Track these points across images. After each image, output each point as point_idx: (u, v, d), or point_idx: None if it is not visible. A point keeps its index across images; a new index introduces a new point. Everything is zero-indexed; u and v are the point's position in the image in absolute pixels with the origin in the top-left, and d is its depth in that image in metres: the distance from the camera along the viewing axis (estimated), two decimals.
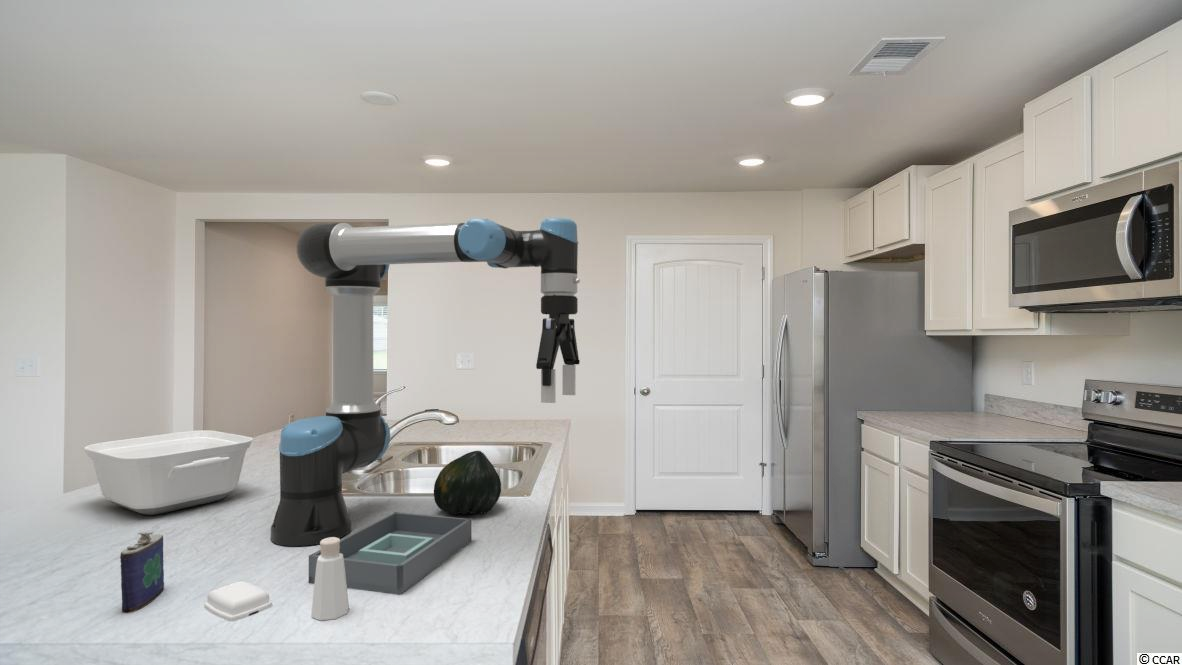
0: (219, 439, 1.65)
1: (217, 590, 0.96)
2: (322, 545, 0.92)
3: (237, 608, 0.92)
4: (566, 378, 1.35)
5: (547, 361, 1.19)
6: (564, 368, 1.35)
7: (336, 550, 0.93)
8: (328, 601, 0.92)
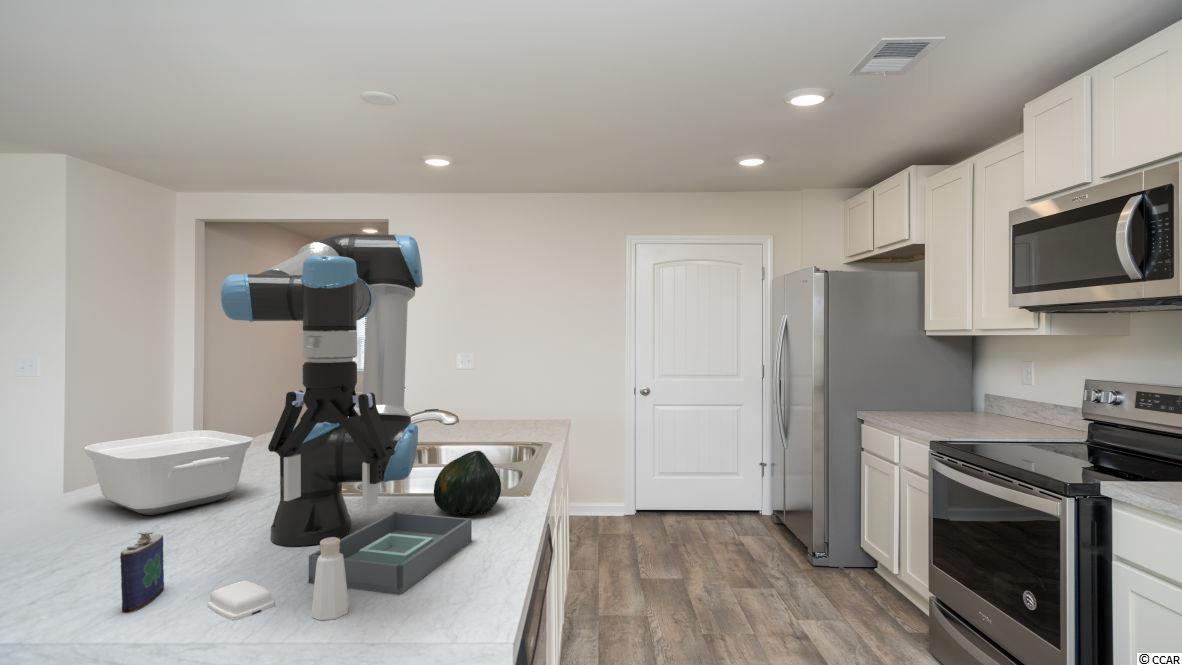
0: (219, 439, 1.65)
1: (220, 589, 0.96)
2: (322, 545, 0.92)
3: (240, 607, 0.92)
4: None
5: None
6: None
7: (336, 550, 0.93)
8: (328, 601, 0.92)
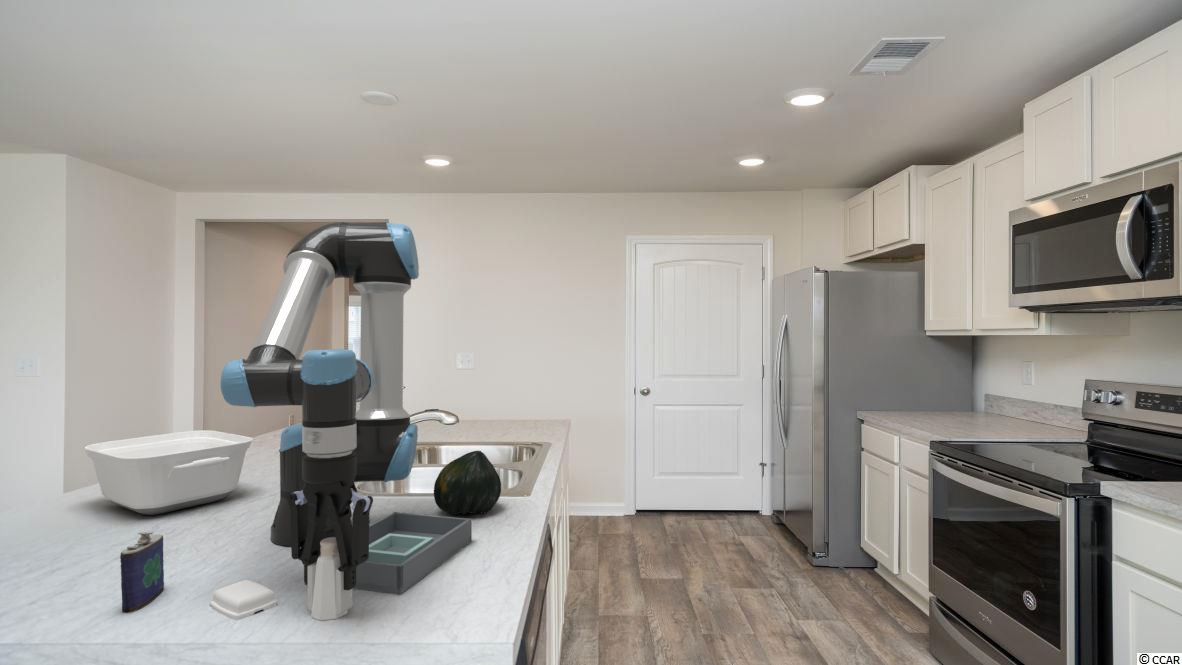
0: (219, 439, 1.65)
1: (222, 589, 0.96)
2: (322, 545, 0.92)
3: (242, 606, 0.92)
4: None
5: None
6: None
7: (336, 550, 0.93)
8: (328, 601, 0.92)
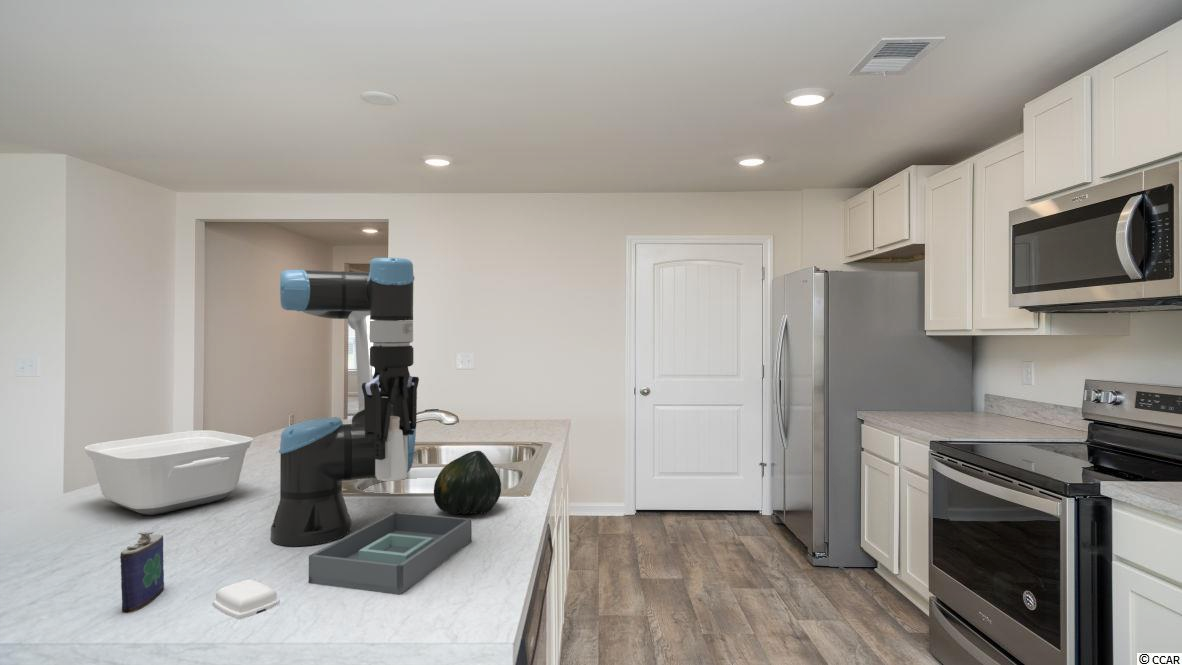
0: (219, 439, 1.65)
1: (225, 588, 0.97)
2: (397, 420, 1.12)
3: (245, 606, 0.93)
4: None
5: (375, 435, 1.07)
6: None
7: None
8: (405, 462, 1.13)
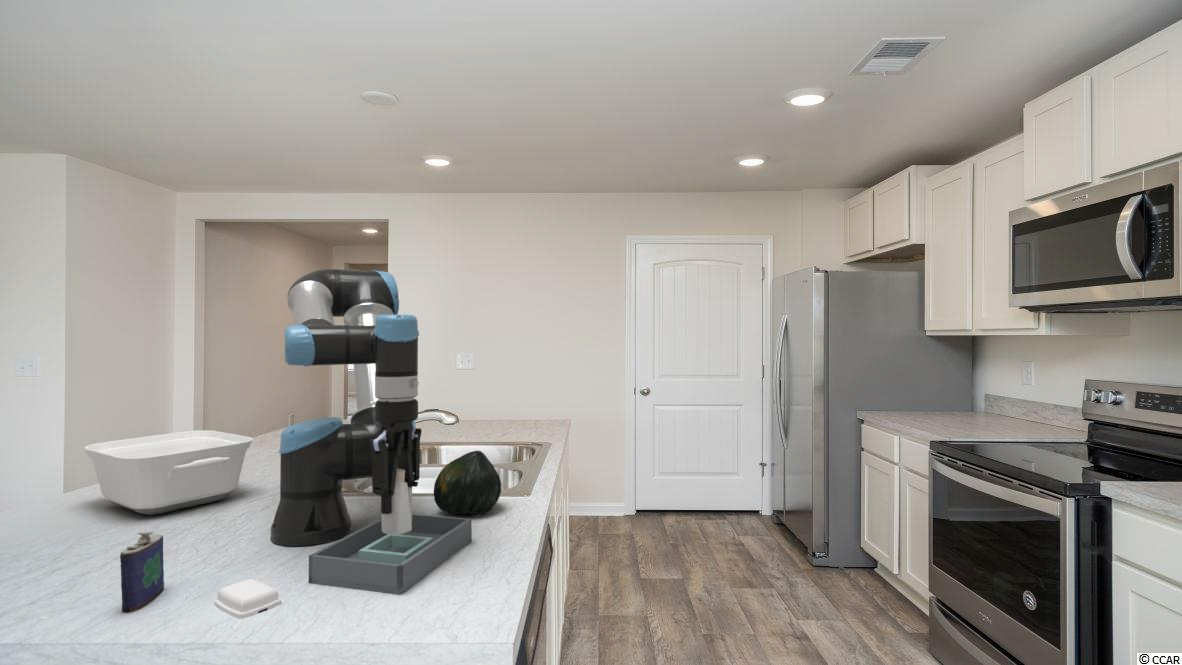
0: (219, 439, 1.65)
1: (227, 588, 0.97)
2: (402, 473, 1.14)
3: (246, 605, 0.93)
4: None
5: (383, 491, 1.09)
6: None
7: None
8: (410, 514, 1.15)
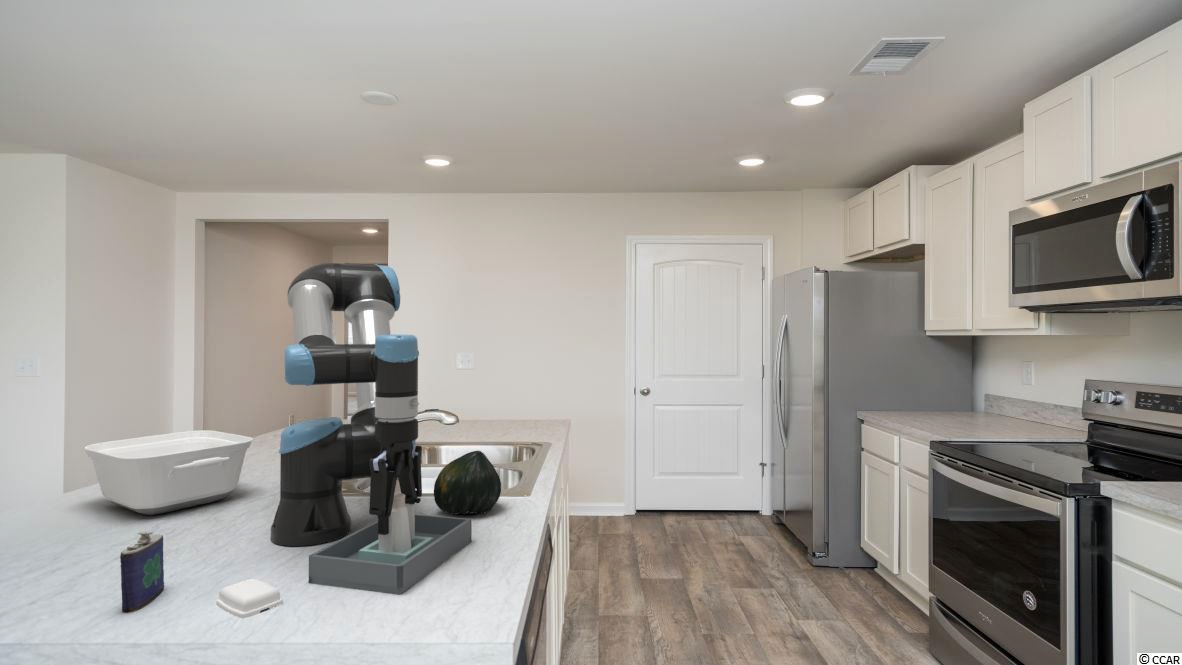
0: (219, 439, 1.65)
1: (229, 587, 0.97)
2: (402, 498, 1.14)
3: (248, 605, 0.93)
4: None
5: (380, 512, 1.08)
6: None
7: None
8: (410, 539, 1.15)
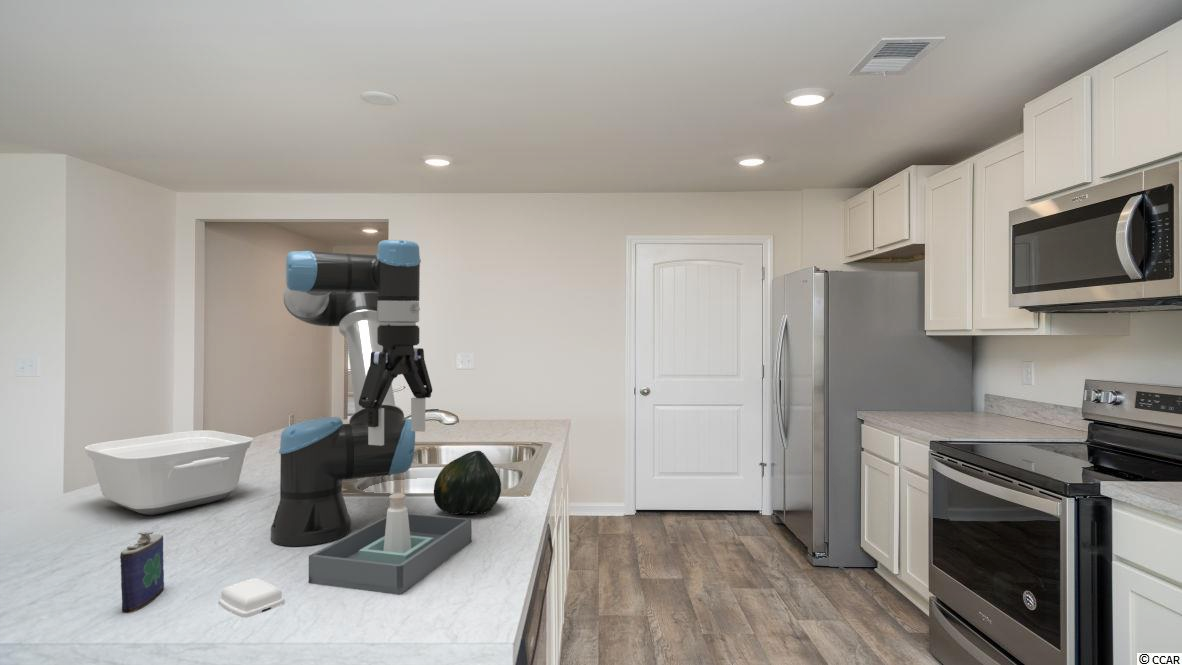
0: (219, 439, 1.65)
1: (231, 587, 0.97)
2: (402, 498, 1.14)
3: (250, 604, 0.93)
4: (415, 413, 1.23)
5: (369, 401, 1.07)
6: (413, 402, 1.23)
7: None
8: (410, 539, 1.15)
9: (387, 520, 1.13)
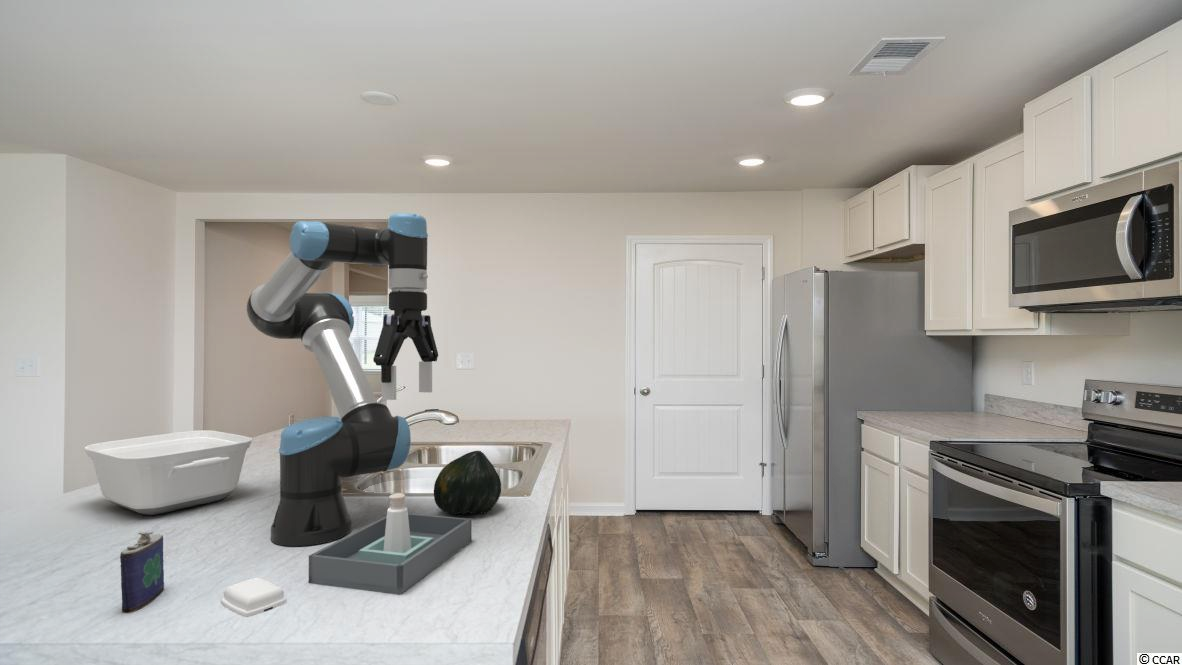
0: (219, 439, 1.65)
1: (233, 586, 0.97)
2: (402, 498, 1.14)
3: (252, 604, 0.93)
4: (422, 375, 1.33)
5: (383, 357, 1.17)
6: (420, 365, 1.33)
7: None
8: (410, 539, 1.15)
9: (387, 520, 1.13)
